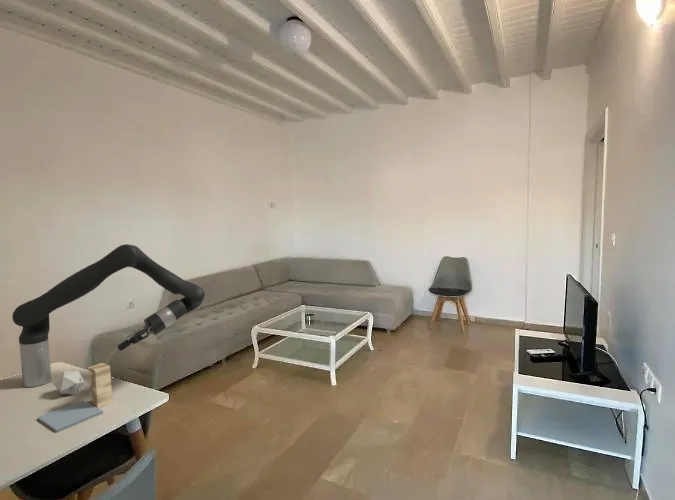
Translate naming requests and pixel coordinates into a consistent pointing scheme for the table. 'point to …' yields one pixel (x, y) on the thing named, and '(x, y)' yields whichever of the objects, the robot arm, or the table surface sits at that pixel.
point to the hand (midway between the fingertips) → (118, 348)
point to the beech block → (100, 385)
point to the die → (69, 382)
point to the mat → (69, 415)
